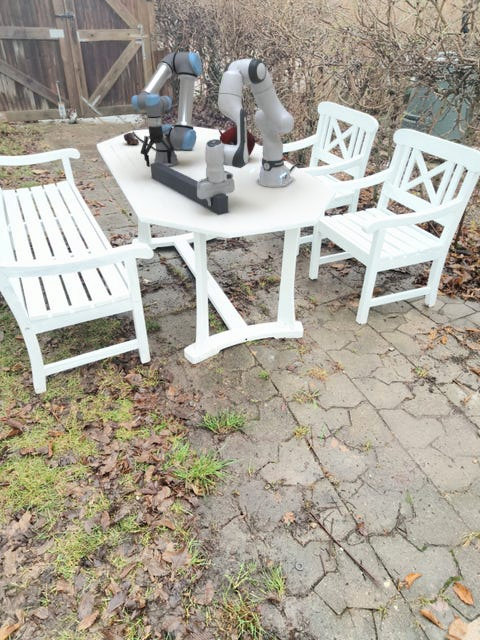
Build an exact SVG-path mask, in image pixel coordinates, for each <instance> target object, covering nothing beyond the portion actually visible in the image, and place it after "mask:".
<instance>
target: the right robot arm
mask: <svg viewBox="0 0 480 640" xmlns="http://www.w3.org/2000/svg"><path fill="white" fill-rule="evenodd" d="M244 86H249V87H250V90H251V93H252V95H253V98H254V101H255V104H256V106H257V108H259V109H258V110H256V112H255V114H254V118H253V119H254V120H253V122H254V125H255V126H256V128H257V130H258V131H259V135H260V138H261V142H262V143H261V144H262V157H261V166H260V169H259V178H258V179H257V182H259V185H261V186H262V187H266V188H278V187H280V188H281V187H282V188H283V187H284V188H285V187H287V186H288V185H290V184H291V183H292V182H293V181H294V179H295V178H294V177H293V176H291V171H292V170H293V169H294V168H295V167H296V166H298V167H299V166H301V164H300V163H295V164H294V165H293V166H291V168H290V169H289V167H287V165H285V162H286V161H287V160H288V159H287V157H284V156H283V153H284V151H283V150H284V143H283V141H282V140H281V138H280V136H279V135H287V134H290V133H291V132H292V131H293V129H294V127H295V118H294V116H293V115H292V114H291V113H289V112H288V111H287V109H286V108H285V107H284V105H283V104H282V101H280V98H279V96H278V94H277V91H276V88H275V87H274V86H275V85H274V83H273V80H272V76H271V74H270V72H269V70H268V68H267V66H266V64H265V62H264V61H263V59H261V58H242V59H236V60H231V61H229V62H227V63H226V65H225V67H224V69H223V74H222V77H221V80H220V84H219V89H218V97H217V107H218V110H219V111H220V113H221V114H222V115H223V116H224V117H226V118H228V119H230V120H232V121H233V122H234V123H235V126H236V127H237V145H227V144H223V143H222V141H221V140H220V139H217V138H215V139H210V140H208V141H207V142H206V144H205V149H204V150H205V151H204V154H205V155H204V156H205V157H204V159H205V161H204V162H205V165H206V168H205V178H200V179H199V180H197V181H198V182H197V197H198V198H200V199H206V200H207V201H208V205H209V206H212V205H213V204H212V202H211V201H210V197H213V196H214V195H218V194H222V193H223V194H225V195H227V194H230V193H231V194H232V193H233V192H234V191H235V179H234V173H232V172H229V171H227V170H225V167H224V166H226V167H227V166H228V167H233V168H237V169H242V168H244V167H245V166H247V164H248V163H249V158H250V156H249V153H248V139H247V130H248V115H247V111H246V110H245V108H243V103H242V100H243V87H244ZM255 171H256V169H255V168H253V169H251V170H250V171H248V172H249V174H251V173H253V172H255Z"/></svg>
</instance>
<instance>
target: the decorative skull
mask: <svg viewBox="0 0 480 640" xmlns="http://www.w3.org/2000/svg"><path fill="white" fill-rule="evenodd" d="M218 133H219V135H220V136H219V140H221V141H222V143H223V144H227V145H237V126H232V127H230V128H228V129H226V130H224V131H222V130H220V129H218ZM247 139H248V153H249V157H250V156H251V155H252V153H253V151H254V149H255V147H256V142H257V141H256V137H255V135H254V134H253V133H251V131H249V130H248V129H247Z"/></svg>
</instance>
